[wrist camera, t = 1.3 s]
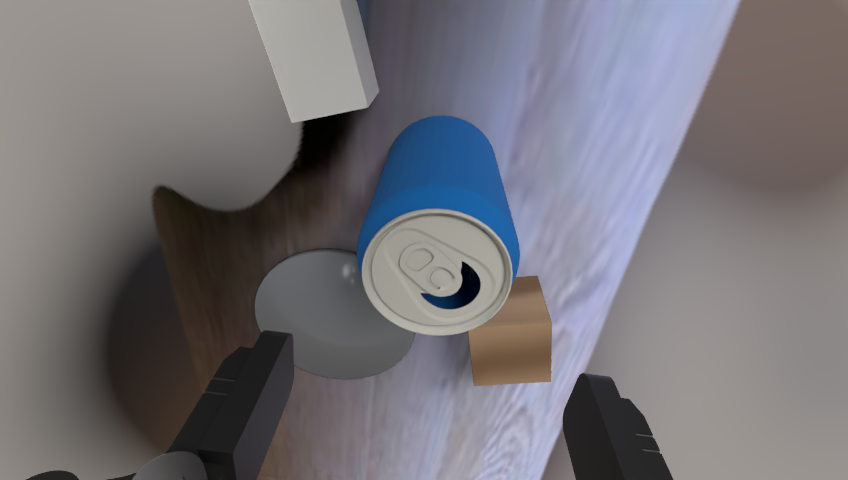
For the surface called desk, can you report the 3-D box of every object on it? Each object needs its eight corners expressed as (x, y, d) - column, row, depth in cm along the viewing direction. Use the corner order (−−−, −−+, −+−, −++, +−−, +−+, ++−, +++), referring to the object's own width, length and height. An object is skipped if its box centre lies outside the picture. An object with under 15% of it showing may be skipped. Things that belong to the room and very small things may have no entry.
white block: (275, -12, 22) (243, -13, 19) (349, -31, 22) (330, -35, 18) (313, 105, 25) (291, 123, 22) (379, 91, 25) (367, 107, 21)
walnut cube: (465, 280, 31) (467, 328, 26) (537, 275, 30) (551, 322, 26) (470, 334, 33) (473, 385, 29) (537, 329, 33) (550, 381, 28)
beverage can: (439, 231, 29) (433, 367, 18) (366, 163, 27) (314, 273, 16) (517, 168, 26) (561, 284, 16) (444, 87, 24) (440, 160, 14)
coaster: (252, 237, 30) (249, 241, 29) (426, 261, 30) (425, 266, 30) (262, 363, 36) (259, 368, 35) (407, 382, 36) (406, 387, 36)
